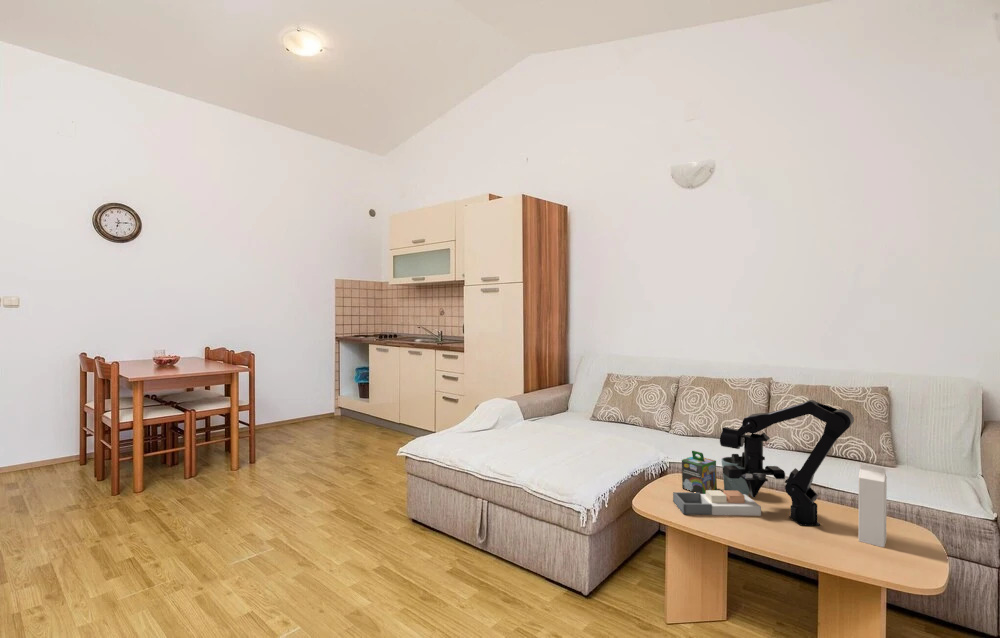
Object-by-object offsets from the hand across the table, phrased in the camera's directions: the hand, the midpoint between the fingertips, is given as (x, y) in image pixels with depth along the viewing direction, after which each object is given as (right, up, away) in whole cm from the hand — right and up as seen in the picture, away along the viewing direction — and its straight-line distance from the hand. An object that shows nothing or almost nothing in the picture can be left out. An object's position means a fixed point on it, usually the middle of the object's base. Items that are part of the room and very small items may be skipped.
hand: (753, 497), depth 166 cm
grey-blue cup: (+2, -4, +16) cm, 17 cm away
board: (-8, -4, 0) cm, 9 cm away
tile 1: (-13, -1, 0) cm, 13 cm away
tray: (-21, -4, +1) cm, 21 cm away
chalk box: (-11, -4, +18) cm, 22 cm away
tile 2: (-7, -1, 0) cm, 7 cm away
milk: (+23, -4, -24) cm, 33 cm away
